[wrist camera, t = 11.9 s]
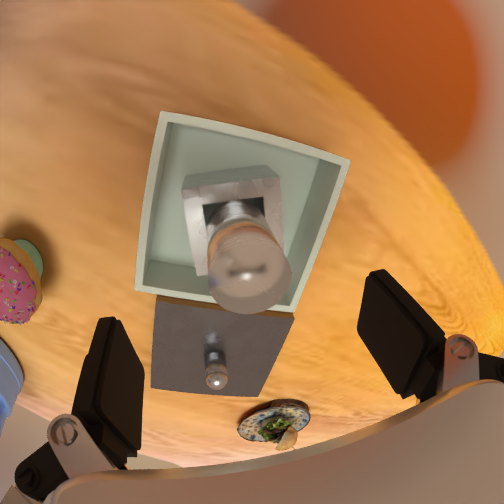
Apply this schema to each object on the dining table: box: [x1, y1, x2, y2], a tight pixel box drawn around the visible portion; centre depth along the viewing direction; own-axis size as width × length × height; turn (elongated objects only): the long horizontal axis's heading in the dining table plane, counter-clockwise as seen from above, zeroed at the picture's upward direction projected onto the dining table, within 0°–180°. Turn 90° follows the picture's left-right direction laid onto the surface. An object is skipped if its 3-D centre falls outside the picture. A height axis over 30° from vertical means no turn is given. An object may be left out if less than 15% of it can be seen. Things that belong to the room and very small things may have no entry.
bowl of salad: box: [237, 399, 310, 450], centre depth 37 cm, size 12×12×8 cm
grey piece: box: [181, 165, 292, 314], centre depth 19 cm, size 6×6×11 cm
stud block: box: [151, 295, 295, 397], centre depth 29 cm, size 14×14×5 cm
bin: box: [135, 111, 351, 312], centre depth 22 cm, size 13×13×5 cm
